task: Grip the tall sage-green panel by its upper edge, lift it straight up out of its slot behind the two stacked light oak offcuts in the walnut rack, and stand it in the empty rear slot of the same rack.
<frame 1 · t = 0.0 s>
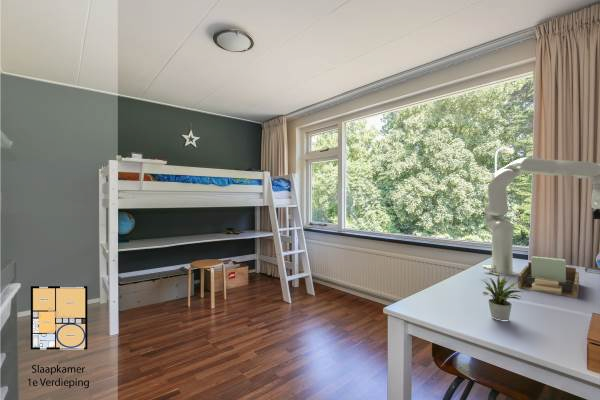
offcut upper: (546, 285, 127), point 3 cm above the table, touching offcut lower
green panel: (548, 287, 132), point 1 cm above the table, touching rack
house plant: (497, 319, 103), on the table
offcut lower: (546, 290, 127), point 1 cm above the table, touching offcut upper, rack
rack: (548, 288, 134), on the table
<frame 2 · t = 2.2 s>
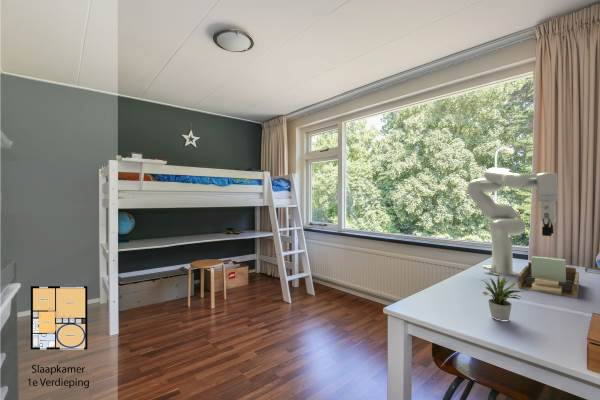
hand: (547, 234, 132), 26 cm above the table, tool pointing down, fingers open, 9 cm apart
nothing on the table moved.
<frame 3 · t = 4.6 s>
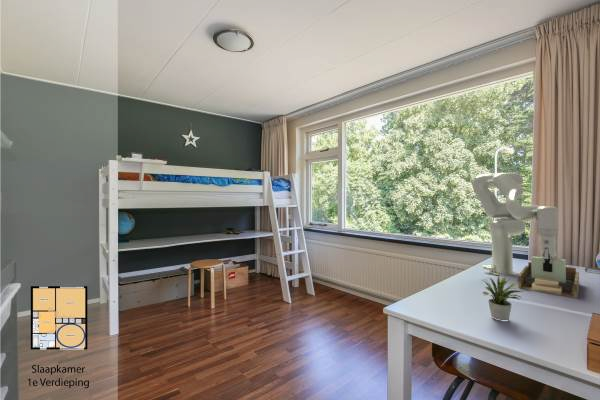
hand: (548, 270, 132), 9 cm above the table, tool pointing down, fingers closed on green panel, 3 cm apart
green panel: (548, 287, 132), point 1 cm above the table, touching gripper, rack
everything else where it was.
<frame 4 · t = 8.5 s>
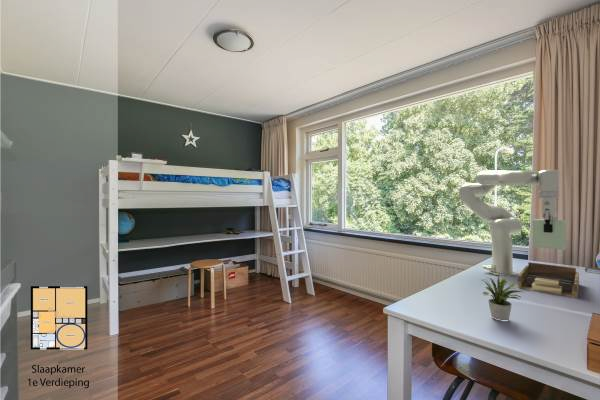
hand: (548, 231, 137), 27 cm above the table, tool pointing down, fingers closed on green panel, 3 cm apart
green panel: (548, 248, 137), point 19 cm above the table, touching gripper
everything else where it was.
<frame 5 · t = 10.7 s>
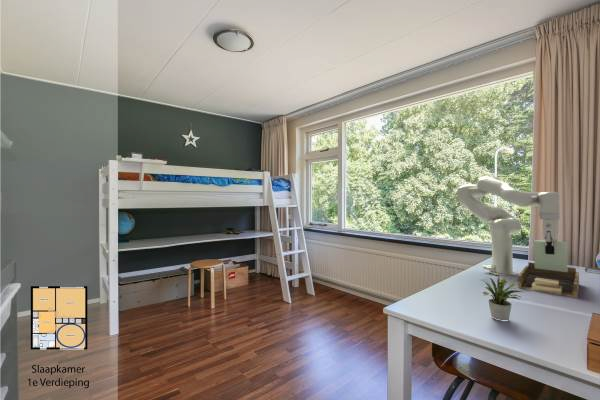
hand: (550, 253, 138), 16 cm above the table, tool pointing down, fingers closed on green panel, 3 cm apart
green panel: (550, 269, 138), point 8 cm above the table, touching gripper
everything else where it was.
when the fingers open (11 cm above the table, at t = 12.5 s): green panel drops 2 cm, resting on rack.
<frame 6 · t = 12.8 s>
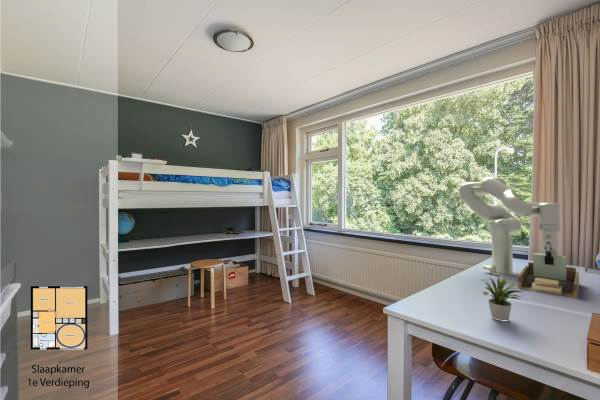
hand: (549, 262, 138), 11 cm above the table, tool pointing down, fingers open, 6 cm apart
green panel: (549, 283, 138), point 1 cm above the table, touching rack
everything else where it was.
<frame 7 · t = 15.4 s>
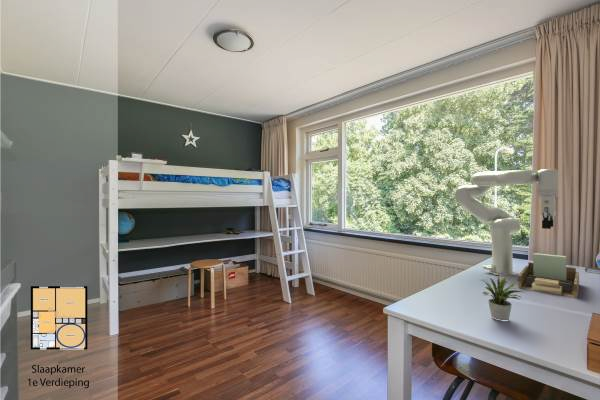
hand: (547, 227, 140), 29 cm above the table, tool pointing down, fingers open, 9 cm apart
nothing on the table moved.
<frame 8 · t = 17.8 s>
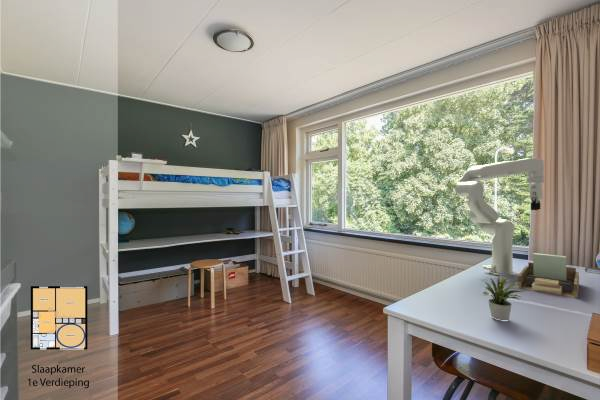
hand: (535, 209, 162), 36 cm above the table, tool pointing down, fingers open, 9 cm apart
nothing on the table moved.
at the end: green panel 0.2 cm from the target spot on the rack, point 1.0 cm above the rack's base; green panel tilted 0°; the gripper is holding nothing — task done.
